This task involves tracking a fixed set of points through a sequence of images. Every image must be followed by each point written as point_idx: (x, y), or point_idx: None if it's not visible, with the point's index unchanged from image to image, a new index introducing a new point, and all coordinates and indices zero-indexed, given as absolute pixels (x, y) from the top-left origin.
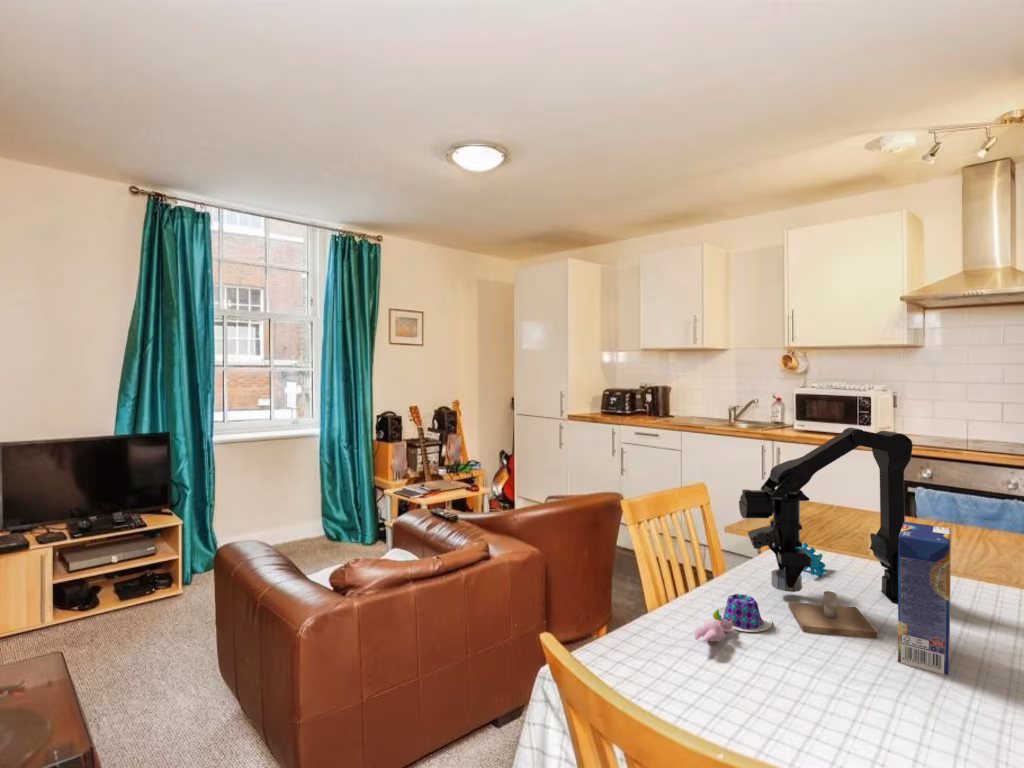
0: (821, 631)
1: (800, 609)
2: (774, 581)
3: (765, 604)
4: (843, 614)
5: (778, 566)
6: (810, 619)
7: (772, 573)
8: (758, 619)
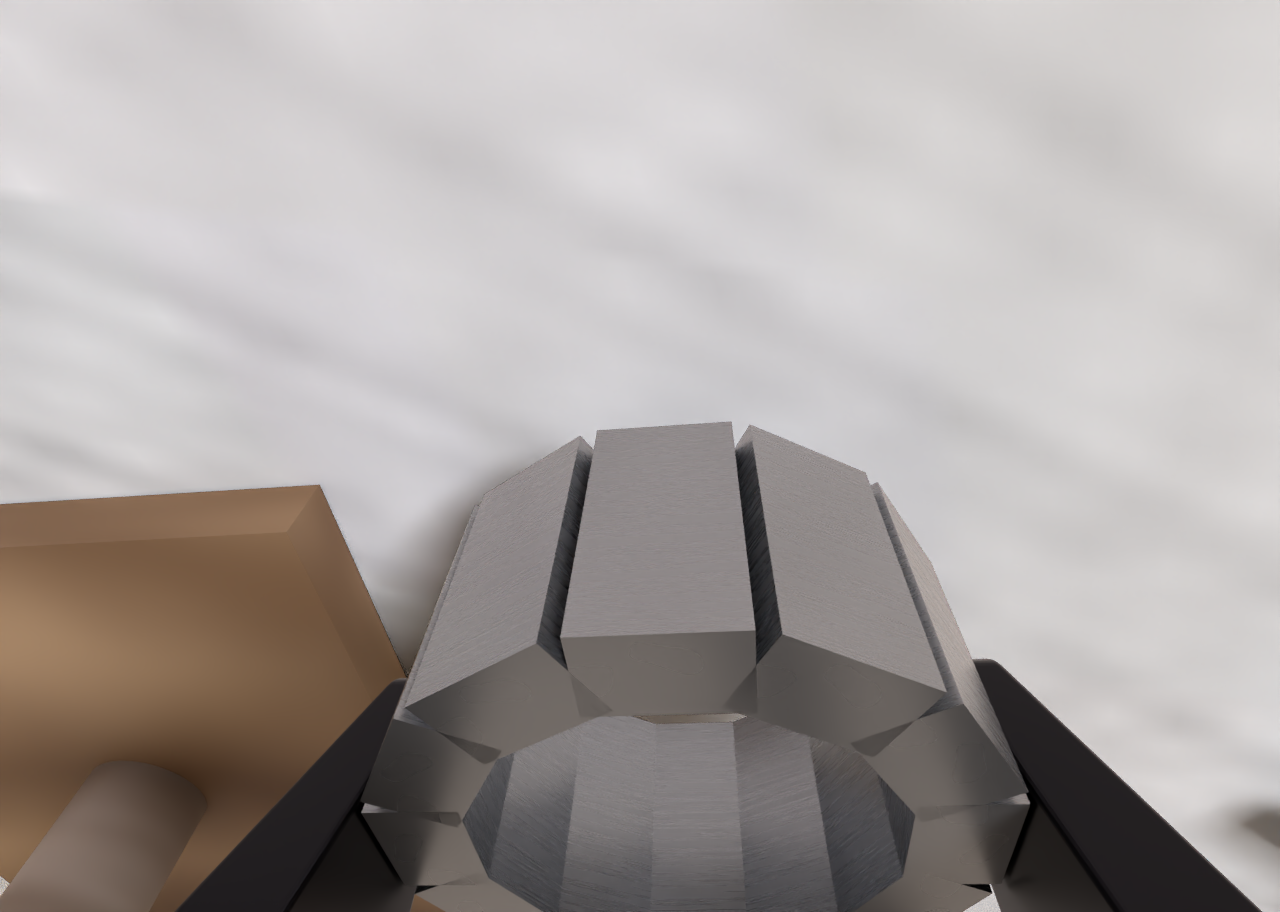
0: None
1: (108, 616)
2: (535, 536)
3: (216, 178)
4: None
5: (1133, 836)
6: None
7: (627, 639)
8: None
